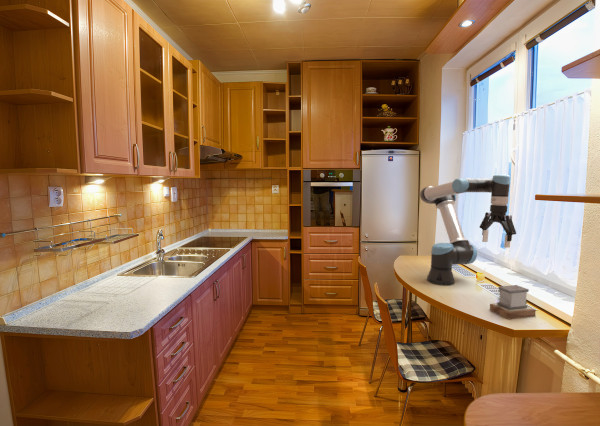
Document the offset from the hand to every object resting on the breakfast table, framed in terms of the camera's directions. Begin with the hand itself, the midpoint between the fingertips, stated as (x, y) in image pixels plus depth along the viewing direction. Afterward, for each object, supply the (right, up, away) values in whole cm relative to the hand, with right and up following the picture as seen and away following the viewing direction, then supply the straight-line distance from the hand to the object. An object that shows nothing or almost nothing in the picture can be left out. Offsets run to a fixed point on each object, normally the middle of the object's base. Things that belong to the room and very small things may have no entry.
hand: (495, 244), depth 158 cm
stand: (-5, -30, -19) cm, 36 cm away
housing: (-5, -27, -19) cm, 33 cm away
